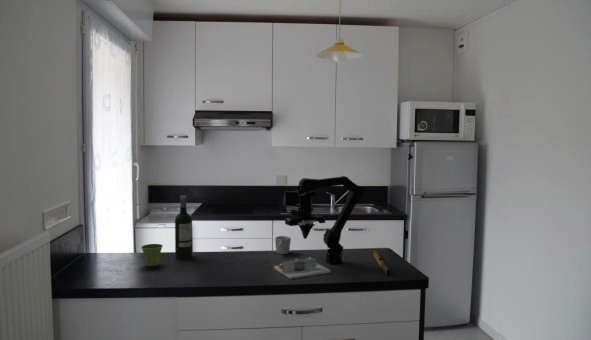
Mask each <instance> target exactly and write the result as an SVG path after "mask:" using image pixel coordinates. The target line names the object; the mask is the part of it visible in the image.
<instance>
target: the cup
mask: <svg viewBox="0 0 591 340" xmlns="http://www.w3.org/2000/svg"><path fill="white" fill-rule="evenodd" d="M291 239H292V238H291V237H290V236H288V235H287V236H286V235H279V236H276V237H275V238H274V241H275V252H276V253H277V254H278V255H288V254H289V253H290V249H291V248H290V247H291Z"/></svg>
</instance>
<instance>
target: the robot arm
mask: <svg viewBox="0 0 591 340" xmlns="http://www.w3.org/2000/svg"><path fill="white" fill-rule="evenodd" d="M337 186H343V187H344V188H345V189H346V190H347V191H348V192H347V195H346V201H345V204H344V205H343V207H342V209H341V210H340V213H339V214H338V217H337V218H336V220H335V222H334V223H333V226H332V227H331V228H330V229H329V228H326V230H325V232H324V234H323V239H322V240H323V243H324V244H325V245H326V246H327V248H328V249H327V252H326V260H325V262H327V263H328V264H330V265H333V266H334V265H340V264H344V261H343V250H344V246H342V244H341V243H340V240H341V235H342V232H343V229H344V227H345V226H346V224H347V222H348V220H349V217H350V215H351V214H352V212H353V210H354V208H355V207H356V205H358V204H359V202H361V201H362V200H363V198H364V197H365V196H366V190H365V188H364V187H363V186H360V185H358V184H357V183H355V182H353V181H352V180H351V179H350V178H349V177H347V176H345V175H341V176H335V177H328V178H327V177H326V178H307V177H306V178H305V177H304V178H301V179H300V180H299V181H298V185H297V187H296V188H295V190H294V191H290V190H289V191H287V190H286V191H284V193H283V198H282V203H283V207H296V206H298V205H299V206H298V207H297V210H296V209H294V208H293V209H290V213H289V215H290V217H286V218H285V220H284V221H285V222H284V224H285V225H287V226H290V227H297V226H298V227H299V229H300V231H301V235H302V237H303V239H304V240H307V238H308V236H309V234H310V233H311V230H312V229H313V227H315V225H316V224H315V223H314V222H318V223H319V224H326V217H325V216H323V215H320V214H319V215H316V214H315V215H313V214H312V213H313V211H314V208H313V205H312V204H313V197H317V194H316V193H315V192H314V191H315V190H318V189H320V188H326V187H327V188H328V187H337ZM312 215H313V216H312Z"/></svg>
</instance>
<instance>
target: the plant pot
mask: <svg viewBox="0 0 591 340" xmlns="http://www.w3.org/2000/svg"><path fill="white" fill-rule="evenodd" d="M140 248H141V250H142V253H143V258H144V265H145V266H146V267H152V266H153V267H156V266H160V262H161V253H162V248H163V244H161V243H149V244H144V245H141V247H140Z"/></svg>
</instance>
